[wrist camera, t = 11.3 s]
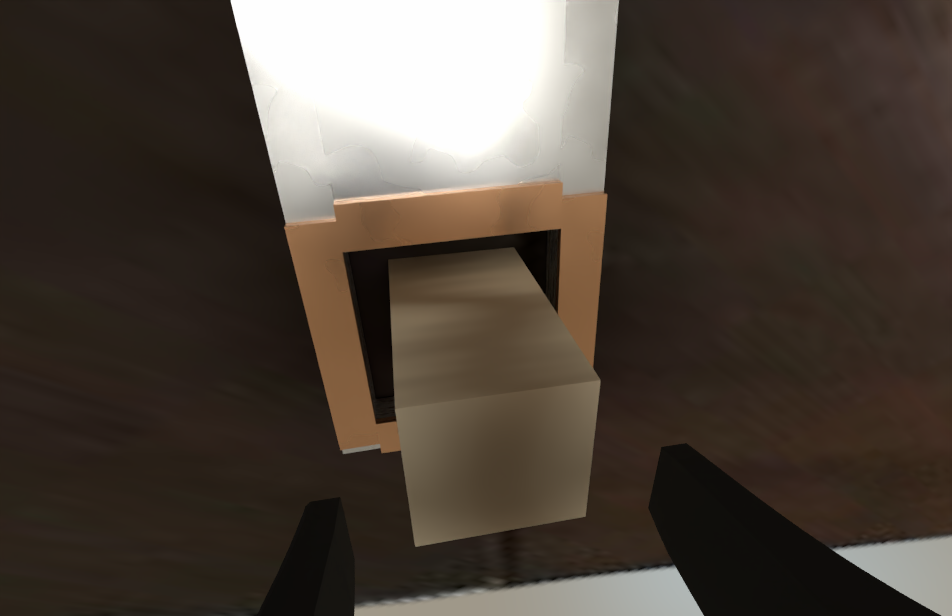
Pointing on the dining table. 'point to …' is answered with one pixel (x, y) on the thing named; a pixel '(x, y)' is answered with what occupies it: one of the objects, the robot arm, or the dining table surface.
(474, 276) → the birch peg
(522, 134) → the rail
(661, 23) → the dining table surface
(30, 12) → the dining table surface
